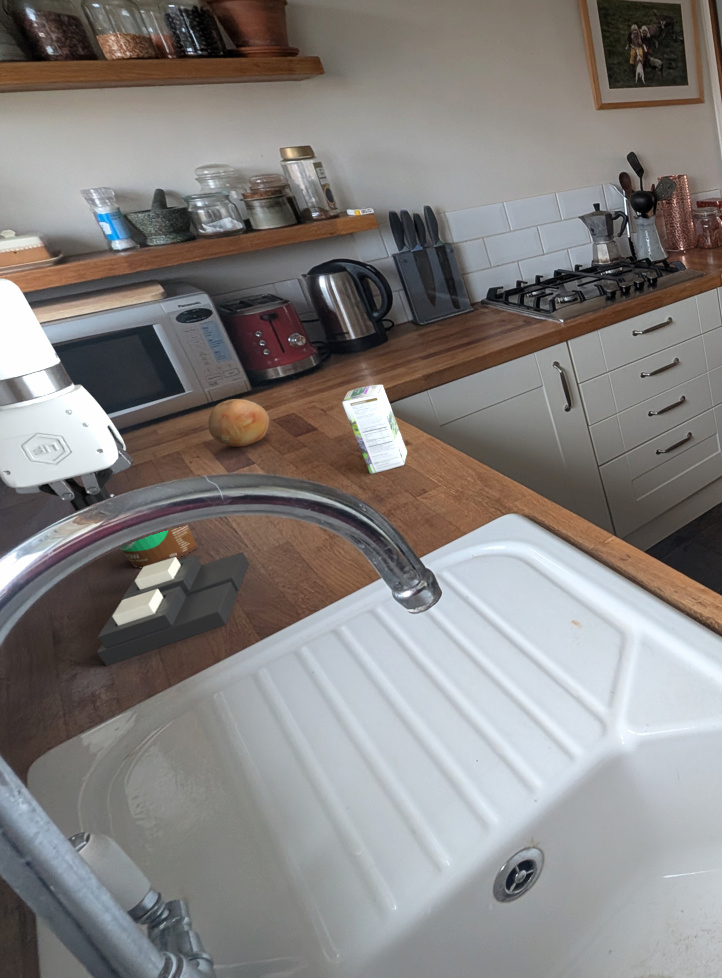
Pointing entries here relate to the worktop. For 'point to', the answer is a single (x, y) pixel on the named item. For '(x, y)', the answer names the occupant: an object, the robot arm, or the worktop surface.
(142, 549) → the food container
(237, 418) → the onion
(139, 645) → the key block
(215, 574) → the key block
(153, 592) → the key front
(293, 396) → the worktop surface
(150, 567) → the key rear
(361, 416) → the syrup box
